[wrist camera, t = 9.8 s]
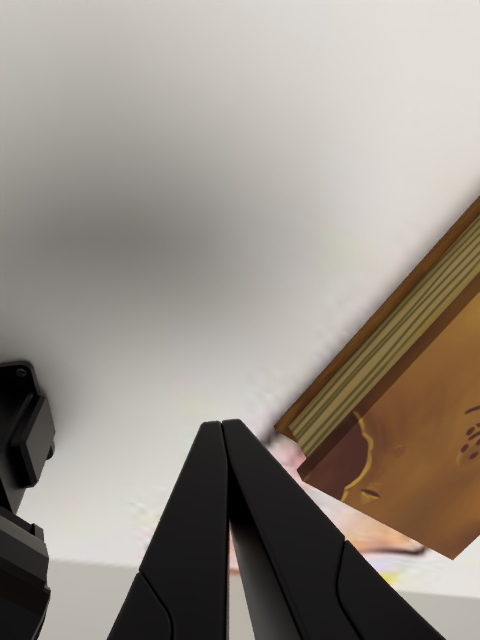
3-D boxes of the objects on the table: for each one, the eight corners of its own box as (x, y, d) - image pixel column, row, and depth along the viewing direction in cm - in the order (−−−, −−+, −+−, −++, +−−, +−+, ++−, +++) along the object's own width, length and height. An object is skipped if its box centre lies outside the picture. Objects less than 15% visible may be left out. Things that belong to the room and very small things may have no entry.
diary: (409, 503, 34) (457, 563, 29) (271, 420, 26) (301, 481, 21) (599, 318, 31) (692, 348, 25) (504, 161, 23) (609, 157, 18)
